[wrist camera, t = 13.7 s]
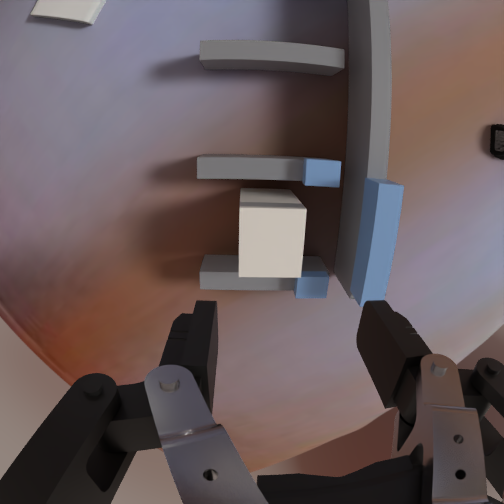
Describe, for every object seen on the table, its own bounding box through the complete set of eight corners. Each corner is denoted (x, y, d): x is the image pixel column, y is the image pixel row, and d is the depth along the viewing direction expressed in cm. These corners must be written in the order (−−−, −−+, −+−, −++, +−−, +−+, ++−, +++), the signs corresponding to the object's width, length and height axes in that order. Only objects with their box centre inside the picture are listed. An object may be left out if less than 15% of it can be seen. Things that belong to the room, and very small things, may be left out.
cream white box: (240, 187, 25) (239, 207, 18) (290, 189, 25) (306, 209, 19) (239, 240, 27) (238, 277, 20) (286, 241, 27) (300, 277, 20)
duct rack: (211, -30, 18) (202, -75, 11) (363, -15, 18) (397, -50, 11) (205, 272, 27) (193, 318, 21) (350, 273, 28) (379, 316, 21)
